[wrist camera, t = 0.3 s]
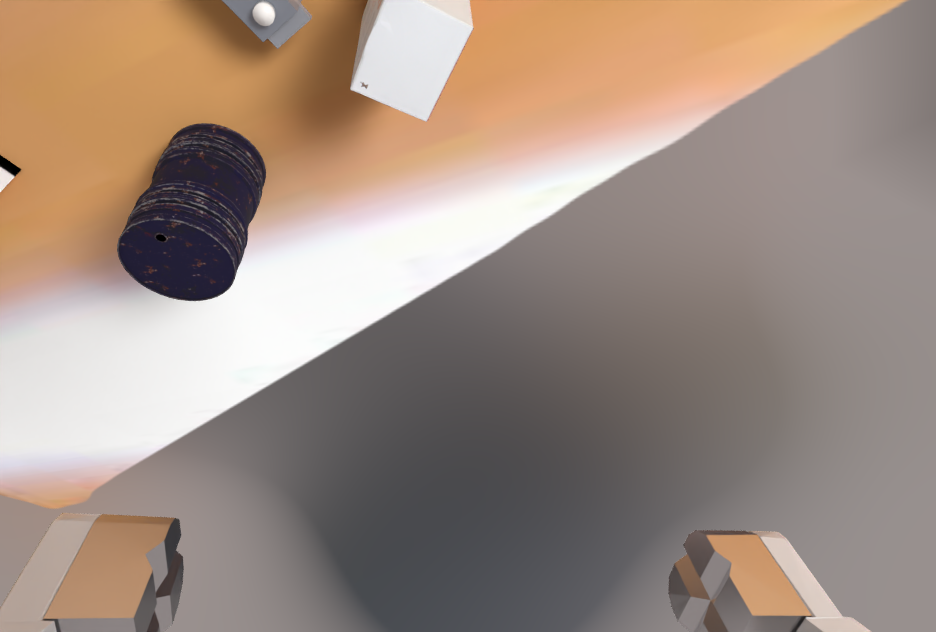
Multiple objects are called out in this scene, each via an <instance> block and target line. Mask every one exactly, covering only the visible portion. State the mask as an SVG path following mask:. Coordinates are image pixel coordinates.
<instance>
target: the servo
mask: <svg viewBox="0 0 936 632" xmlns="http://www.w3.org/2000/svg"><path fill="white" fill-rule="evenodd" d="M222 1H223V2H224V3H225V4H226V5H227V6H228V7H229V8H230V9H231V10H232V11H233V12H234V13H235V14H236V15H237V16H238V17H239V18H240V19H241V20H242V21H243V22H244V23H245V24H246V25H247V26H248V27H249V28H250V29H251V30H252V31H253V32H254V33H255V34H256V35H257V36H258V37H259V38H260V40H261V41H262V42H264V41H265V40H266V39H267V38H268V39H269V40H270V41H271V42H272V44H273V45H274V46H275V47H276V48H277V49H278V48H279V47H280V46H281V45H282V44H283V43H285V42H286V41H287V40H288V39H289V38H290V37H291V36H293V35H294V34H295V33H296V32H297V31H298V30H299V29H300V28H302V27H303V26H304V25H305V24H306V23H307V22H308V21H310V20H311V18H312V15H311V14H310V13H309V12H308V11H307V10H306V9H305V7H304V6H303V5H302V4H301V1H302V0H222Z"/></svg>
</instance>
